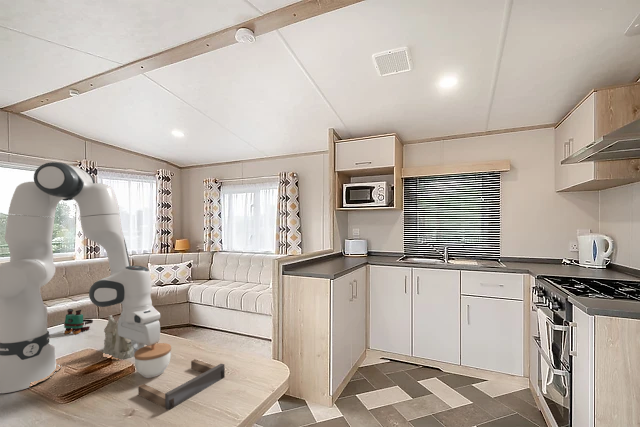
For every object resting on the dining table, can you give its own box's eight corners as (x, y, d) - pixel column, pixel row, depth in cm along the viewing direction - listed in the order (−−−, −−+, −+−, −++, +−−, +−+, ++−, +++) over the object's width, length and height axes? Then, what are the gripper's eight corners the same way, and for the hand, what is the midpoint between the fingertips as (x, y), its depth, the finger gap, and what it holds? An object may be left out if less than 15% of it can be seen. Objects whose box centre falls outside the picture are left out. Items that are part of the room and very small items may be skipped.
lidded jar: (155, 383, 94) (155, 352, 94) (126, 380, 96) (126, 350, 96) (178, 366, 104) (178, 339, 105) (151, 364, 107) (151, 337, 107)
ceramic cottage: (117, 362, 108) (119, 319, 109) (94, 355, 116) (95, 314, 117) (159, 348, 122) (160, 310, 123) (135, 342, 129) (136, 306, 131)
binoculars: (97, 306, 146) (77, 310, 136) (95, 329, 145) (75, 335, 135) (81, 306, 147) (60, 310, 138) (79, 328, 146) (58, 334, 136)
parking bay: (138, 394, 88) (138, 381, 88) (195, 366, 104) (194, 354, 104) (168, 410, 80) (168, 394, 80) (224, 377, 97) (224, 364, 97)
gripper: (112, 311, 108) (112, 350, 108) (145, 319, 98) (145, 363, 97) (130, 306, 113) (131, 343, 113) (163, 314, 103) (164, 355, 103)
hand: (138, 352), depth 105 cm, fingers closed
